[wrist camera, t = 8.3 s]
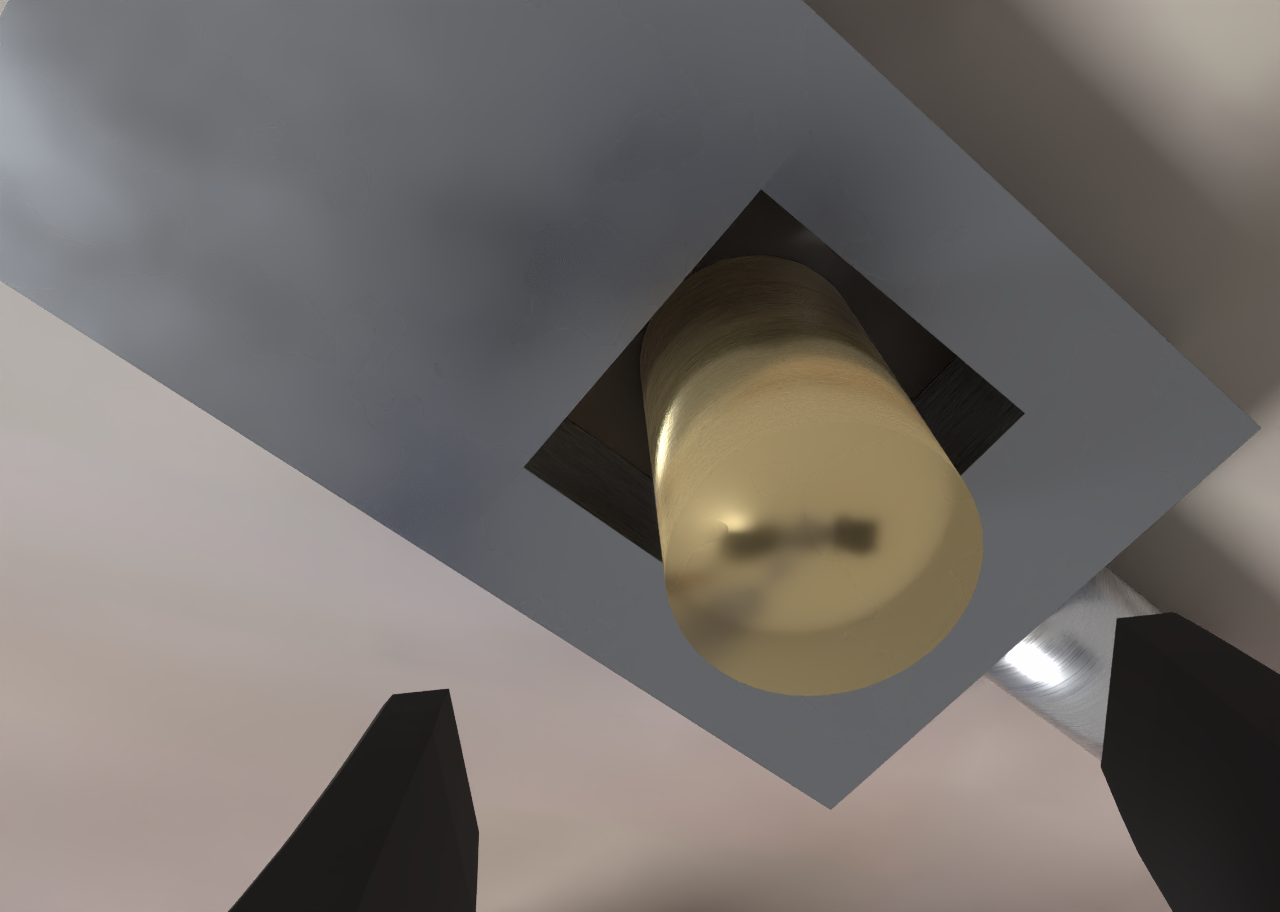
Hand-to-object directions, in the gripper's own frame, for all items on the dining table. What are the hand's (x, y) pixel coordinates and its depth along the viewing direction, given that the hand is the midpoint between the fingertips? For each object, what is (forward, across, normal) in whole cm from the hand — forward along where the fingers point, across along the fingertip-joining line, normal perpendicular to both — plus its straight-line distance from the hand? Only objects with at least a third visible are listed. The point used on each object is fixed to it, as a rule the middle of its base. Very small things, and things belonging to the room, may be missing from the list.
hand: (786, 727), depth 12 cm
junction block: (+9, +1, -2) cm, 10 cm away
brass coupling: (+9, -1, 0) cm, 9 cm away
